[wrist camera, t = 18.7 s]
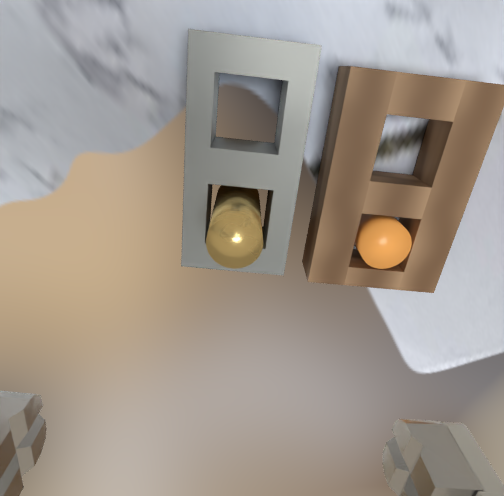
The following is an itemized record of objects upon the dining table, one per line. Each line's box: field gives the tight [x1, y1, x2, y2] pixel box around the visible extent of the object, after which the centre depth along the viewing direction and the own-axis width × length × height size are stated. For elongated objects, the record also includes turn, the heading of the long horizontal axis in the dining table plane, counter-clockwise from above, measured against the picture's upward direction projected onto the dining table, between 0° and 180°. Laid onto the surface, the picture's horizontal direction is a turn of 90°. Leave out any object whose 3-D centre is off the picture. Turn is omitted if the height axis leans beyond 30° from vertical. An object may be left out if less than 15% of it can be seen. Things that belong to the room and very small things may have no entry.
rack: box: [181, 29, 322, 275], centre depth 31 cm, size 9×18×5 cm, turn 174°
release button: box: [354, 213, 412, 269], centre depth 34 cm, size 4×4×4 cm
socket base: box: [302, 66, 504, 293], centre depth 33 cm, size 12×18×4 cm, turn 174°
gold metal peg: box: [206, 185, 263, 269], centre depth 31 cm, size 4×4×10 cm
